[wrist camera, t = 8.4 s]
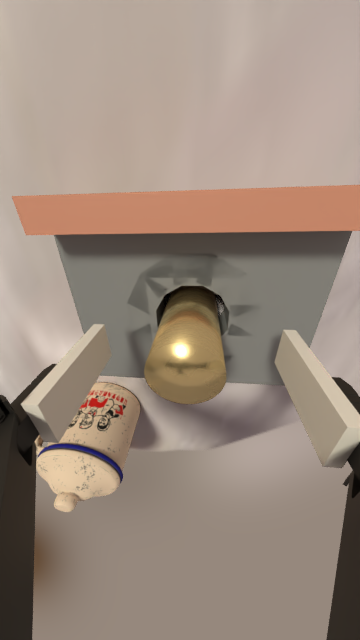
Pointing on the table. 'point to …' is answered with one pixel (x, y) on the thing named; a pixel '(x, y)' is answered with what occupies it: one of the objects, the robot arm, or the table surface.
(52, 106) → the table surface
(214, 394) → the brass cylinder
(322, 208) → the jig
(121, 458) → the teacup with lid
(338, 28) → the table surface
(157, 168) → the table surface
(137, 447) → the table surface
